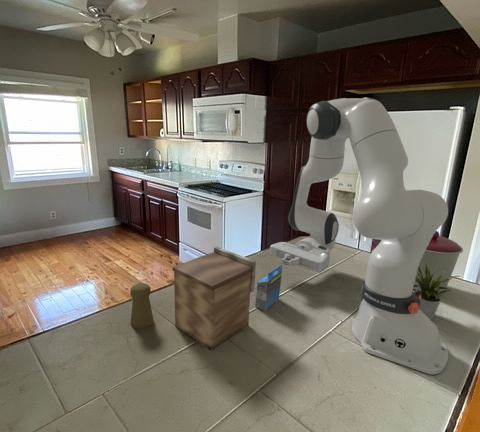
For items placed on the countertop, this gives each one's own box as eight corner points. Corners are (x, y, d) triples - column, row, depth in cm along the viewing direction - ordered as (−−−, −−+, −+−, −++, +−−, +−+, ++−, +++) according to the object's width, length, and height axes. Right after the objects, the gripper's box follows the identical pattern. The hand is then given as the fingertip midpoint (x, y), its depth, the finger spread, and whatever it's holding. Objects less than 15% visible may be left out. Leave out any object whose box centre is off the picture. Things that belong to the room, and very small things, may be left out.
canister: (432, 304, 100) (446, 242, 94) (383, 280, 115) (393, 226, 109) (463, 292, 108) (477, 235, 103) (413, 271, 123) (424, 220, 118)
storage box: (248, 325, 86) (251, 271, 81) (211, 350, 75) (212, 290, 71) (212, 305, 94) (213, 256, 90) (175, 326, 84) (174, 271, 80)
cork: (125, 324, 84) (122, 287, 81) (142, 313, 89) (140, 278, 86) (142, 331, 82) (140, 293, 79) (158, 319, 87) (156, 283, 84)
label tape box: (268, 295, 102) (271, 260, 98) (280, 299, 99) (282, 263, 96) (254, 307, 95) (256, 269, 91) (266, 311, 92) (268, 273, 89)
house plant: (382, 305, 98) (391, 256, 94) (412, 296, 104) (421, 251, 100) (425, 331, 86) (437, 277, 82) (456, 320, 92) (469, 269, 87)
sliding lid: (254, 290, 84) (255, 261, 82) (211, 314, 72) (212, 281, 70) (216, 273, 93) (216, 246, 91) (173, 292, 81) (172, 262, 79)
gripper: (283, 235, 117) (260, 244, 107) (334, 251, 104) (314, 263, 94) (281, 251, 119) (259, 261, 109) (332, 268, 106) (312, 282, 96)
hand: (285, 262), depth 101 cm, fingers closed
